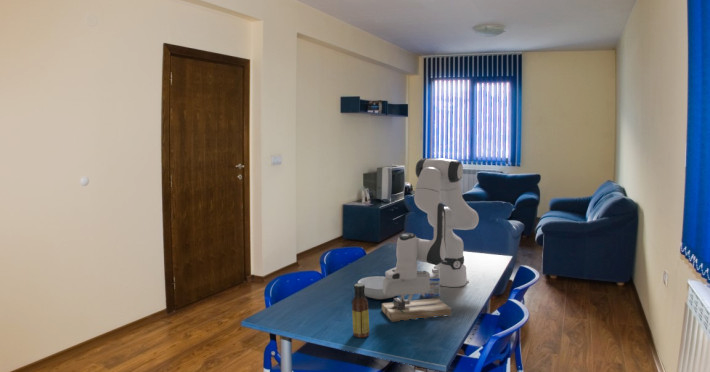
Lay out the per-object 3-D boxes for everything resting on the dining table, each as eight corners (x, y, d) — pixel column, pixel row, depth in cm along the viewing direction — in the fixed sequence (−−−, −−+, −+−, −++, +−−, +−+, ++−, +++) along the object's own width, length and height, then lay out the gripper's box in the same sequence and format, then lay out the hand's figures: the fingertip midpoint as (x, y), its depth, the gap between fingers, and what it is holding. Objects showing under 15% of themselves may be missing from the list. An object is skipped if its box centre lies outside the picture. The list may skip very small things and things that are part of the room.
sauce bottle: (368, 331, 200) (368, 281, 198) (369, 338, 194) (369, 286, 192) (351, 332, 200) (351, 282, 198) (352, 338, 194) (352, 287, 191)
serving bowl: (399, 305, 230) (400, 290, 230) (353, 302, 235) (353, 287, 234) (404, 291, 251) (405, 277, 250) (362, 288, 255) (362, 274, 254)
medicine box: (424, 297, 240) (424, 279, 239) (420, 294, 245) (420, 276, 244) (439, 296, 242) (440, 278, 242) (435, 293, 247) (436, 275, 246)
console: (381, 310, 224) (381, 303, 224) (437, 304, 231) (437, 298, 230) (392, 321, 211) (392, 314, 210) (451, 315, 217) (451, 308, 217)
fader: (393, 304, 221) (393, 297, 220) (400, 304, 222) (400, 297, 221) (398, 309, 215) (398, 302, 215) (405, 309, 216) (405, 301, 215)
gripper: (426, 268, 223) (426, 299, 224) (381, 272, 218) (381, 303, 219) (432, 272, 217) (432, 304, 218) (386, 276, 212) (386, 308, 213)
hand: (406, 304), depth 219 cm, fingers closed
